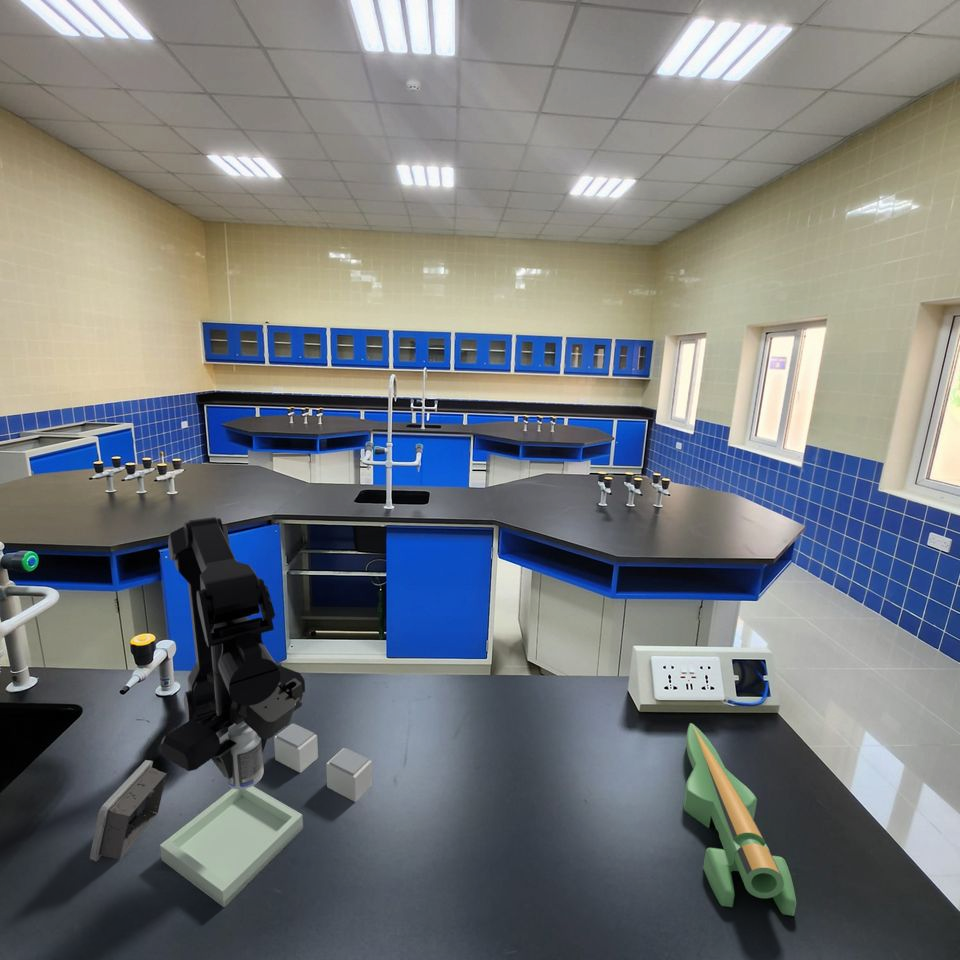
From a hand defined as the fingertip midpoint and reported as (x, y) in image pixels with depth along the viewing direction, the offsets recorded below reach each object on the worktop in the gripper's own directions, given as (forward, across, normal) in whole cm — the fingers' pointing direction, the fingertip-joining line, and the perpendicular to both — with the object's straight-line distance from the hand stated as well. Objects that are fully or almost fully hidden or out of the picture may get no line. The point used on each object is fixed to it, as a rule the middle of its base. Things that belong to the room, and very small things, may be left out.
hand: (244, 764), depth 72 cm
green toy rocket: (+13, +38, -61) cm, 73 cm away
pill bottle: (+2, 0, 0) cm, 2 cm away
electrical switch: (+12, -7, +15) cm, 21 cm away
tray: (+12, -2, +1) cm, 12 cm away
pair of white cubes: (+12, +14, -1) cm, 19 cm away
